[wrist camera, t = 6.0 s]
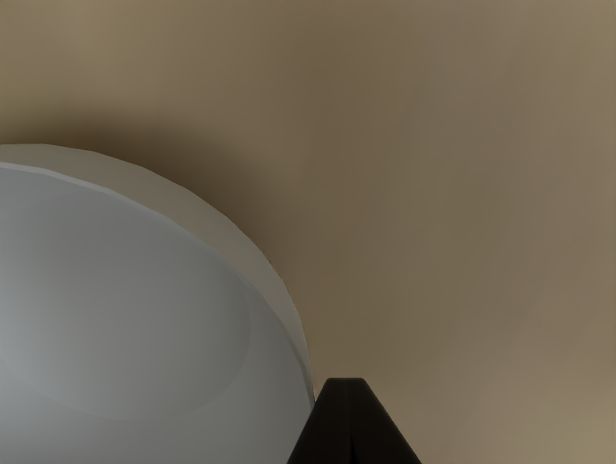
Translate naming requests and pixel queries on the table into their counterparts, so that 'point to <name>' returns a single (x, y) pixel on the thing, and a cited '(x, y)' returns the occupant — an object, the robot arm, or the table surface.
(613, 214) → the table surface
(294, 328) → the saucepan
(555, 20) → the table surface
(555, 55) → the table surface
